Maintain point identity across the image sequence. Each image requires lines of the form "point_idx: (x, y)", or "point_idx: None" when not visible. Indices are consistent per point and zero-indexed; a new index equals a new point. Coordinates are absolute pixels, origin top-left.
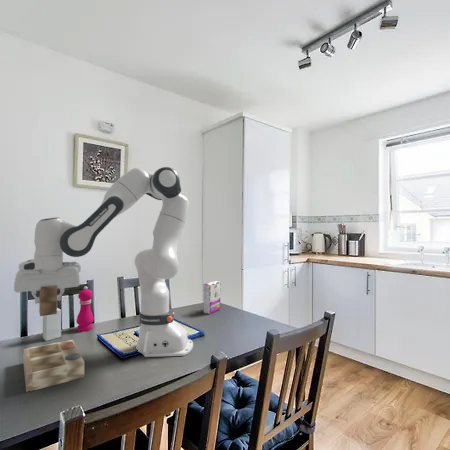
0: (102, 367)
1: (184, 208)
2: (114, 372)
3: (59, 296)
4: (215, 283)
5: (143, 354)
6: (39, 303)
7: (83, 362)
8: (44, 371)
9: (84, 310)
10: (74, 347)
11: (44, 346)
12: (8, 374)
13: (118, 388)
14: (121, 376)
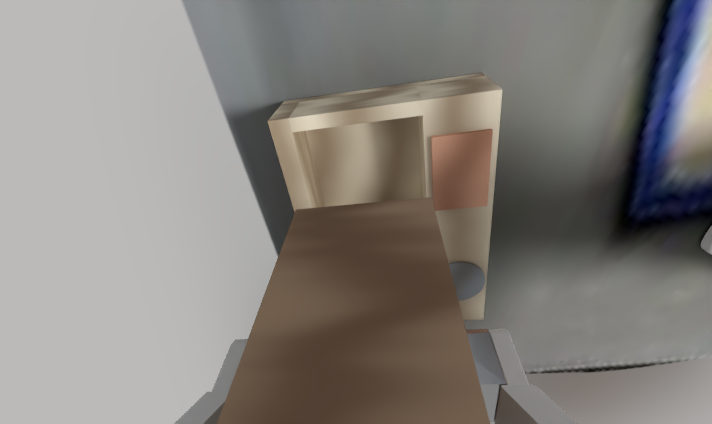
0: (537, 252)
1: None
2: (553, 290)
3: (498, 415)
4: None
5: (708, 235)
6: (275, 277)
7: (480, 317)
8: None
9: None
10: (483, 204)
11: (358, 122)
12: (259, 177)
13: (525, 349)
14: (558, 313)
